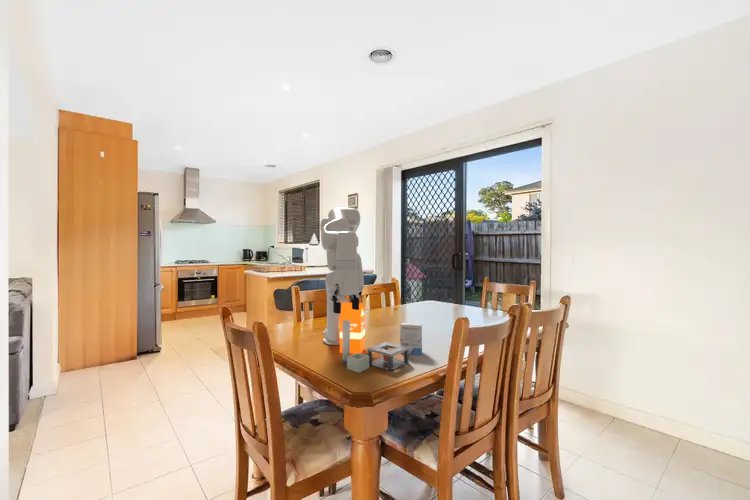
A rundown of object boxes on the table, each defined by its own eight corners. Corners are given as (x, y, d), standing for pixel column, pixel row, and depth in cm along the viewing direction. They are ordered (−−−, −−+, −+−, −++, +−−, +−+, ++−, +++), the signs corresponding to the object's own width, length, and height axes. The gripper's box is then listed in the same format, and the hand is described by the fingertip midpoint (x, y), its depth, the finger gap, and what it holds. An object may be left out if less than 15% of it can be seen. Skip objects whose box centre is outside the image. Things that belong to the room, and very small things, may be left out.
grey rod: (340, 363, 132) (340, 320, 131) (346, 361, 134) (346, 319, 133) (346, 365, 130) (346, 322, 130) (351, 363, 132) (351, 320, 132)
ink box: (422, 351, 147) (422, 323, 147) (420, 355, 142) (420, 325, 142) (402, 349, 149) (402, 321, 149) (399, 353, 144) (400, 324, 144)
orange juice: (360, 354, 143) (360, 304, 142) (339, 352, 145) (339, 303, 144) (364, 348, 151) (365, 301, 150) (344, 347, 152) (345, 300, 152)
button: (381, 359, 132) (381, 351, 132) (387, 357, 134) (387, 349, 134) (388, 361, 129) (389, 353, 129) (394, 359, 132) (394, 351, 132)
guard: (367, 364, 131) (367, 348, 131) (385, 356, 140) (385, 341, 140) (390, 371, 124) (391, 354, 124) (408, 363, 133) (408, 347, 133)
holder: (347, 368, 126) (347, 356, 126) (357, 364, 131) (357, 352, 131) (358, 372, 123) (358, 359, 123) (369, 368, 127) (369, 355, 127)
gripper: (355, 263, 140) (355, 307, 140) (322, 265, 127) (322, 313, 127) (369, 264, 135) (369, 309, 135) (336, 266, 122) (336, 316, 122)
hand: (346, 311), depth 131 cm, fingers open, 9 cm apart
